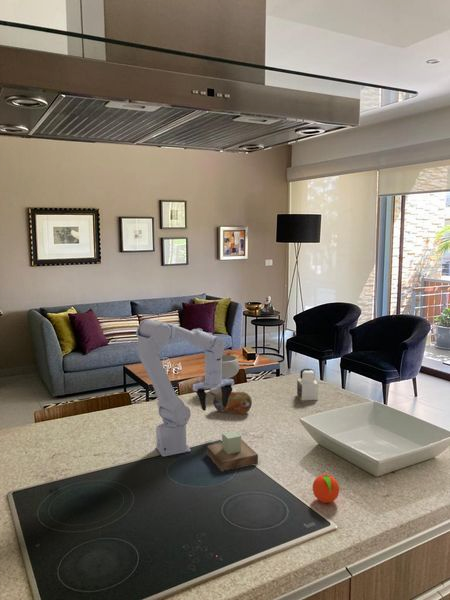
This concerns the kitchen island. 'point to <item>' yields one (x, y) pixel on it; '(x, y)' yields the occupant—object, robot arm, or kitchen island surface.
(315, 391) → the medicine bottle
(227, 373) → the chalice
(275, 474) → the kitchen island surface
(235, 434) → the block
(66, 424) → the kitchen island surface
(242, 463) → the plinth
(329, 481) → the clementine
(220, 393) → the tin
